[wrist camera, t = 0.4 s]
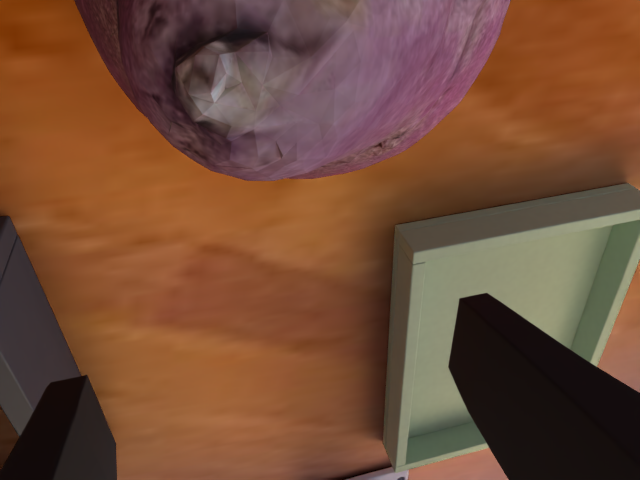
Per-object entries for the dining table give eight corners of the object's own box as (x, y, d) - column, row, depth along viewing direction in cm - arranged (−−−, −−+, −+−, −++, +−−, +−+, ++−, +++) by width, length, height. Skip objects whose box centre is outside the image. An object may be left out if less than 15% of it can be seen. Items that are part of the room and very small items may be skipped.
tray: (553, 397, 33) (574, 424, 31) (382, 442, 31) (394, 473, 29) (628, 182, 24) (662, 204, 22) (394, 224, 22) (413, 252, 20)
